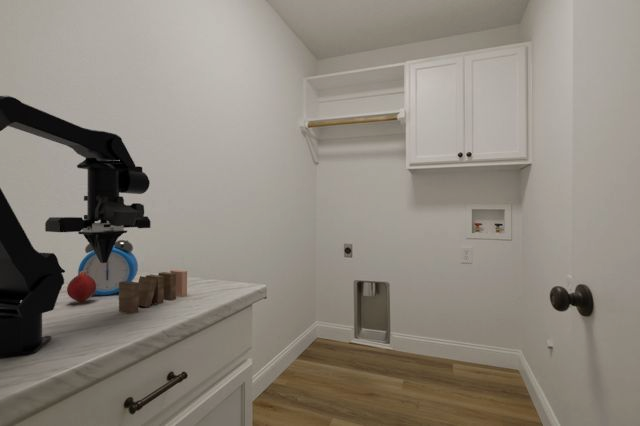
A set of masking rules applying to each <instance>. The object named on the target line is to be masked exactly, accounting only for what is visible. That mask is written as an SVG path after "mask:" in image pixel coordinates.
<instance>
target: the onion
mask: <svg viewBox="0 0 640 426" xmlns="http://www.w3.org/2000/svg"><path fill="white" fill-rule="evenodd" d="M95 290H96V283H95V281H94V279H93V278H91V277H90V276H88V275H86V272H85V271H81V272H80V273H79V274H78V273H77V275H76V276H74V277H73V278H72V279H71V280H70V281H69V283H68V284H67V287H66V292H67V295H68V296H69V298H71V299H72V300H73V301H76V302H79V303H85V302H86V301H87V300H88V299H89V298H91V297H93V296H92V295H93V294H94V292H95ZM94 295H95V294H94Z"/></svg>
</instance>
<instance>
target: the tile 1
mask: <svg viewBox="0 0 640 426" xmlns="http://www.w3.org/2000/svg"><path fill="white" fill-rule="evenodd" d="M118 312H121V313H126V314H129V315H130V314H131V315H134V314H135V313H138V312H139V283H138V282H136V281H132V282H131V281H122V282H119V292H118Z"/></svg>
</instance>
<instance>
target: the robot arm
mask: <svg viewBox="0 0 640 426" xmlns="http://www.w3.org/2000/svg"><path fill="white" fill-rule="evenodd" d="M7 127H10V128H14V129H15V130H19V131H22V132H24V133H25V132H26V133H29V134H32V135H33V136H34V135H35V136H37V137H40V138H44V139H45V140H49V141H52V142H54V143H58V144H61V145H63V146H66V147H69V148H71V149H73V151H74V152H75V153H76V154H78V155H79V156H81V157H84V160H83V161H82V162H80V163H77V164H76V167H77V168H78V169H82V170H87V191H86V192H87V195H84V196H83V201H85V202H87V204H86V205H87V206H86V207H87V209H86V210H87V214H84V215H83V217H76V216H66V217H65V216H64V217H63V216H62V217H61V216H56V217H54V216H53V217H49V218H48V219H47V220H46V221H45V225H44V228H45V229H44V230H45V232H51V233H73V232H75V233H77V232H78V233H77V234H78V235H83V236H84V238H85V239H86V241H87V242H88V244H90V245H91V246H92V248H93V251H94V252H95V254H96V255H97V257H98V259H99V261H100V263H107V261H108V259H109V256H110V254H111V251H112V249H113V247H114V244H115V242H117V241H118V239H119V238H120V237H121V236H122V235H123V234H126V233H128V230H124V229H125V228H137V229H151V224H152V223H151V219H150V218H149V217H148V216H145V205H144V204H142V203H137V202H136V203H135V202H133V203H131V204H130V205H129V204H125V199H124V196H120V194H131V195H132V194H134V195H142V194H145V193H146V192H147V191H148V189H149V187H150V183H151V182H150V179H149V177H148V175H147V174H146V173H145V172H143V167H142V166H138V165H137V166H136V164H135V162H134V159H133V157H132V156H131V155H130V152H129V151H128V149H127V146H126V145H125V143H124V142H123V139H122V137H121V136H119V135H118V134H116V133H114V132H109V131H105V130H104V131H103V130H97V129H89V128H84V127H83V126H80V125H77V124H74V123H73V122H70V121H67V120H66V119H63V118H60V117H58V116H55V115H53V114H50V113H48V112H46V111H43V110H42V109H39V108H36V107H35V106H34V107H33V106H31V105H29V104H26V103H24V102H22V101H21V100H19V99H18V98H15V97H13V96H10V95H0V132H1V131H3V130H5V129H6V128H7ZM64 273H66V270H65V269H63V268H62V267H61V266H60V263H59V259H58V257H57V256H56V254H55V253H54V252H39V251H38V250H37V249H35V248H34V246H33V244H32V243H31V240H30V239H29V238H28V235H27V233H26V232H25V230H24V228H23V226H22V224H21V223H20V221H19V219H18V217H17V216H16V214H15V212H14V210H13V208H12V206H11V205H10V203H9V200H8V199H7V197H6V195H5V194H4V192H3V190H2V188H1V187H0V358H7V357H15V356H22V355H31V354H34V353H35V352H38V351H39V349H40V348H42V347H43V346H44V345H46V344H47V343H48V342H49V341H51V340H52V335H47V336H45V335H44V336H43V314H44V313H47V312H51V311H53V310H54V309H55V306H56V303H57V301H58V297H59V295H60V292H61V290H62V287H63V285H64V284H65V277H64V275H63V274H64Z"/></svg>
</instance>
